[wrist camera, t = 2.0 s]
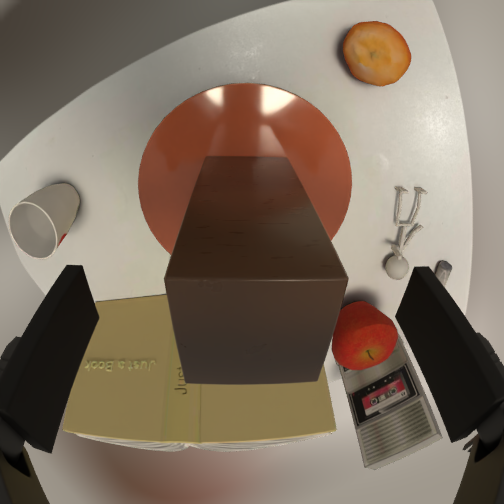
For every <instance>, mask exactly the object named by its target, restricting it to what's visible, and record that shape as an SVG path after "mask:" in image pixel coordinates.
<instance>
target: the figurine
mask: <svg viewBox="0 0 504 504" xmlns="http://www.w3.org/2000/svg"><path fill="white" fill-rule="evenodd" d="M395 189H396V190H398V191H399V204H398V212H397V218H396V219H397V224H396V225H395V226H402V229H401V234H400V239H399V244H398V246H396V245H391V249H392V250H393V252H394V254H395V255H394V256H392V257H390V258H389V259H388V261H387V263H386V272H387V274H388V276H389V277H391V278H392V279H396V280H399V279H402V278H404V277H405V276H406V274H407V273H408V270H409V265H408V262H407V260H406V259H405V258H404V257H403V256H402V252H403V251H404V249H405V248H406V246H407V245H408V243H409V242H410V240H411V239H412V237H413V236H414V234H415V233H416V232H418V231H419V230H421V229H422V228H423V227H422V226H421V225H419V226H418V227H416V228H415V229H414V230H412V231H411V233H410V235H409V236H408V238H407V239H406V241H405V235H406V229H407V226H414V221H415V219H416V216H417V214H418V211H419V209H420V202H421V194H427V191H425V190H424V189H422V188H418V187H414V190H416V191H417V192H418V202H417V208H416V211H415V213H414V216H413V218H412V221H411V223H399V217H400V212H401V205H402V193H408V191H407V190H406V189H404V188H403V187H395ZM404 241H405V242H404Z"/></svg>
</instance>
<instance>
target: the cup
mask: <svg viewBox="0 0 504 504" xmlns="http://www.w3.org/2000/svg"><path fill="white" fill-rule="evenodd" d="M79 204H80V199H79V195H78V193H77V191H76V190H75V188H74V187H72V186H71V185H69V184H66V183H61V184H55V185H50V186H48V187H45V188H43V189H41V190H38V191H36V192H34V193H33V194H31V195H30V196H28V197H27V198H25V199H24V200H22V201H21V202H19V203H18V204H16V205H15V206H14V207H13V208H12V210H11V212H10V215H9V230H10V233H11V236H12V238H13V240H14V242H15V243H16V245H17V246H18V247H19V248H20V250H21V251H23V252H24V253H25V254H26V255H28V256H30V257H32V258H35V259H47V258H49V257H50V256H52V255H53V253H54V252H55V250H56V249H57V248H58V246H59V245H60V243H61V242H62V240H63V239H64V237H65V236H66V235H67V233H68V231H69V229H70V227H71V225H72V223H73V221H74V219H75V217H76V214H77V211H78V208H79Z"/></svg>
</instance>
